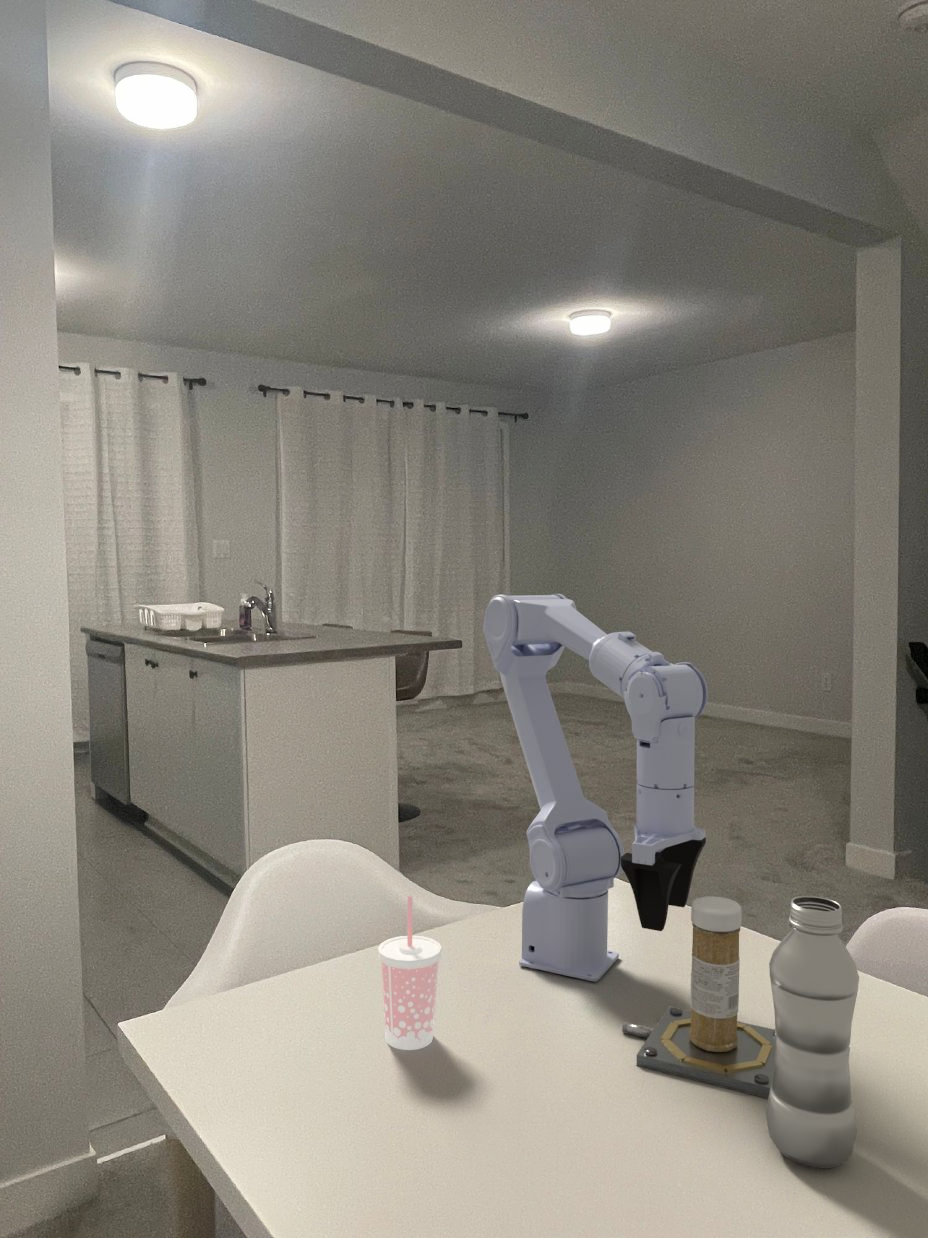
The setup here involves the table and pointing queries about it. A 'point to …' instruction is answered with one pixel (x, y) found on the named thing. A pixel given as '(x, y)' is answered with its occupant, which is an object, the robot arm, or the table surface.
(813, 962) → the plastic bottle
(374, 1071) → the table surface
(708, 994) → the sprinkles bottle
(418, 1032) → the beverage cup
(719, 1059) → the octagon fixture plate
